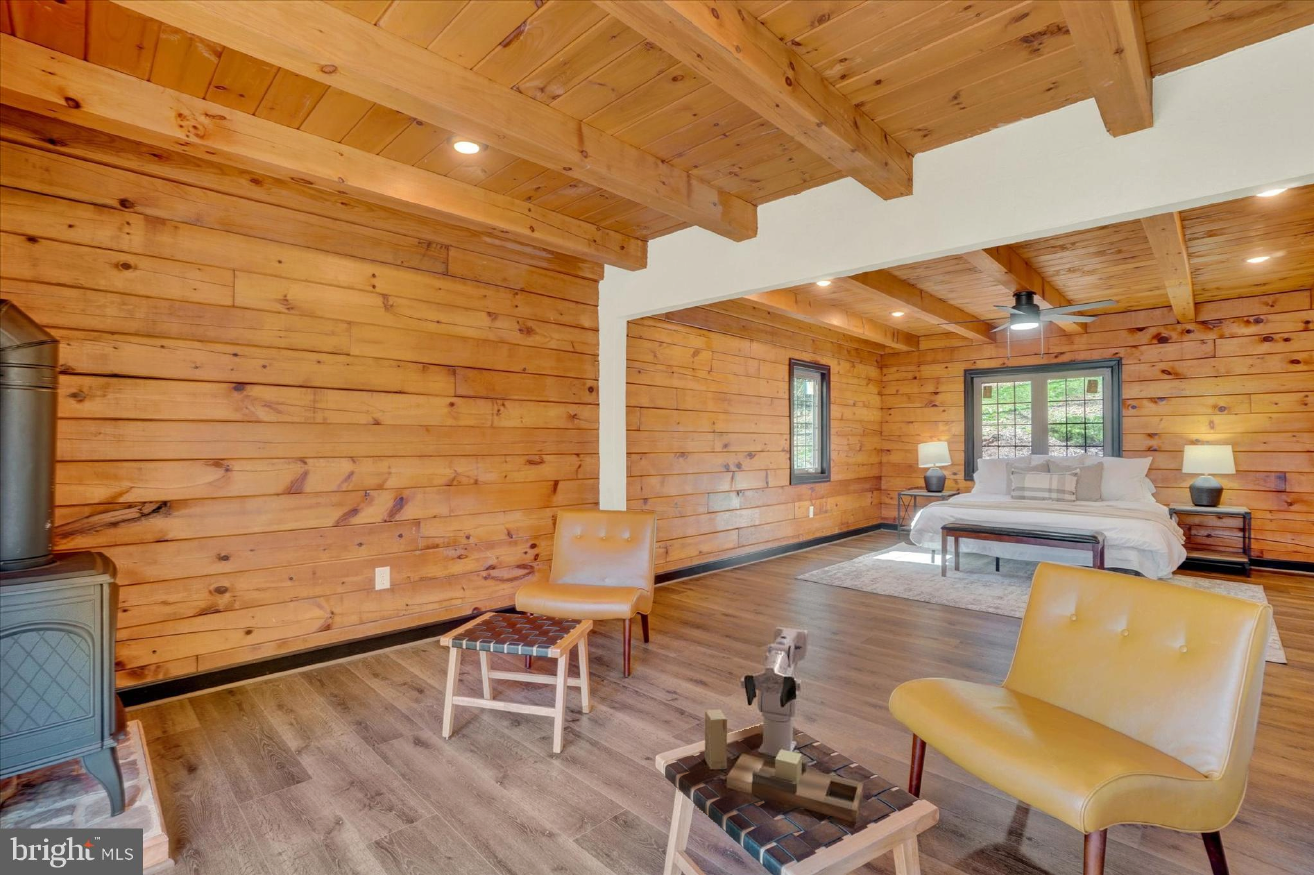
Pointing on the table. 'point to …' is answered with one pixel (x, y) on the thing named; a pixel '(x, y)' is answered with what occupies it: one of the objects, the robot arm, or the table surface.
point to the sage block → (788, 765)
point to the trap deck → (797, 787)
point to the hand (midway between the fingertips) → (765, 702)
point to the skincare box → (716, 739)
